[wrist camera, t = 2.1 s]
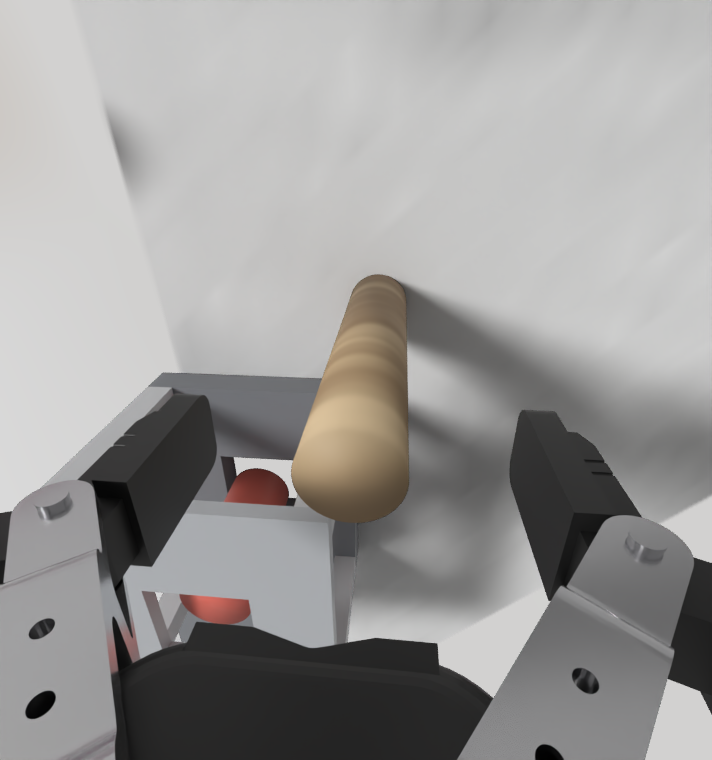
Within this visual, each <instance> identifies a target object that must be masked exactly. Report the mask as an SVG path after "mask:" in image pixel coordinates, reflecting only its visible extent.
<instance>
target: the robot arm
mask: <svg viewBox="0 0 712 760" xmlns="http://www.w3.org/2000/svg"><path fill="white" fill-rule="evenodd" d="M216 455H217V444H216V438H215V432H214V426H213V421H212V415H211V409H210V404H209V400H208V398H207V397H206V396H205V395H193V394H175V395H173V396H172V397H171V398H170V399H169V400H168V401H167V402H166V403H165V404H164V405H163V406H162V407H161V408H160V409H159V411H154V412H152V413H150V414H149V415H147V416H145V417H143V418H141V419H140V420H138V421H136V422H135V423H134V424H133V425H132V426H131V427H130V428H129V429H128V430H127V431H126V432H125V433H124V436H121V437H120V438H119V439H118V440H117V441H116V442H115V443H114V444H113V447H110V448H109V449H108V450H107V451H106V452H105V453H104V454H103V455H102V456H101V457H100V458H99V459H98V460H97V461H96V462H95V463H94V464H93V465H92V466H91V467H90V468H89V469H88V470H87V471H86V472H85V473H84V474H83V475H81V476H80V477H79V478H78V479H77V480H68V481H61V482H57V483H53V484H50V485H48V486H45V487H43V488H40V489H38V490H37V491H35V492H33V493H31V494H30V495H28V496H27V497H25V498H24V499H23V500H22V501H20V502H19V503H18V504H17V506H16V507H15V508H14V510H13V511H11V512H5V513H0V760H645V757H646V753H647V750H648V746H649V743H650V739H651V736H652V732H653V728H654V725H655V722H656V718H657V714H658V711H659V707H660V704H661V700H662V697H663V693H664V689H665V686H666V682H667V679H670V680H672V681H675V682H678V683H680V684H683V685H685V686H688V687H690V688H693V689H696V690H698V691H700V692H701V694H702V696H703V698H704V700H705V702H706V704H707V706H708V708H709V710H710V712H711V714H712V563H709V562H706V561H703V560H700V559H697V558H694V557H693V555H692V553H691V551H690V549H689V548H688V546H687V545H686V544H685V543H684V542H683V541H682V540H681V539H680V538H679V537H678V536H677V535H676V534H674V533H673V532H671V531H670V530H668V529H667V528H665V527H663V526H662V525H659V524H657V523H655V522H653V521H650V520H648V519H644V518H642V517H641V515H640V514H639V512H638V510H637V509H636V507H635V506H634V504H633V503H632V501H631V500H630V498H629V497H628V495H627V494H626V492H625V491H624V489H623V488H622V486H621V485H620V483H619V482H618V480H617V479H616V477H615V476H613V475H612V474H613V473H612V471H611V470H610V468H609V467H608V465H607V464H606V463H604V459H603V457H602V456H601V454H600V453H599V451H598V450H597V448H596V447H595V446H594V445H593V444H592V443H590V442H589V441H588V440H586V439H585V438H584V437H582V436H581V435H580V434H578V433H574V432H567V430H566V429H565V427H564V425H563V424H562V422H561V420H560V419H559V417H558V415H557V414H556V413H555V412H553V411H533V410H522V411H521V412H520V415H519V418H518V423H517V428H516V433H515V439H514V444H513V449H512V454H511V460H510V483H511V487H512V490H513V493H514V496H515V500H516V503H517V506H518V509H519V512H520V515H521V518H522V521H523V524H524V527H525V530H526V533H527V536H528V539H529V542H530V546H531V549H532V552H533V555H534V558H535V561H536V564H537V567H538V570H539V573H540V576H541V579H542V582H543V585H544V588H545V592H546V595H547V597H548V600H549V601H551V602H550V603H549V605H548V607H547V609H546V610H545V612H544V613H543V615H542V617H541V619H540V621H539V622H538V624H537V625H536V627H535V629H534V631H533V632H532V634H531V635H530V637H529V639H528V641H527V642H526V644H525V646H524V647H523V649H522V651H521V652H520V654H519V656H518V658H517V659H516V661H515V663H514V664H513V666H512V668H511V669H510V671H509V673H508V675H507V676H506V678H505V679H504V681H503V683H502V685H501V686H500V688H499V690H498V691H497V693H496V695H495V696H494V698H492V697H491V696H490V695H489V694H488V693H486V692H485V691H484V690H483V689H482V688H480V687H479V686H478V685H476V684H474V683H473V682H471V681H470V680H468V679H467V678H465V677H464V676H462V675H460V674H458V673H456V672H454V671H452V670H450V669H448V668H445V667H443V666H440V665H439V660H438V645H437V644H436V643H425V642H414V641H403V640H392V639H382V638H373V639H367V640H361V641H355V642H349V643H343V644H337V645H331V646H325V647H319V648H308V647H305V646H302V645H300V644H297V643H294V642H292V641H289V640H286V639H284V638H281V637H279V636H276V635H273V634H271V633H268V632H266V631H263V630H260V629H258V628H255V627H250V626H239V625H228V624H217V623H206V622H196V623H195V625H194V628H193V630H192V632H191V634H190V637H189V639H188V641H187V642H186V643H181V644H177V645H174V646H170V647H167V648H164V649H161V650H159V651H156V652H154V653H151V654H149V655H147V656H145V657H143V658H141V659H140V654H139V650H138V644H137V639H136V633H135V628H134V622H133V617H132V611H131V605H130V600H129V594H128V589H127V584H126V581H125V578H124V574H125V573H126V571H127V570H128V568H129V567H130V565H133V566H145V567H152V566H153V565H154V563H155V561H156V560H157V558H158V556H159V555H160V553H161V552H162V550H163V548H164V547H165V545H166V543H167V542H168V540H169V538H170V537H171V535H172V534H173V532H174V530H175V529H176V527H177V525H178V524H179V522H180V521H181V519H182V517H183V516H184V514H185V512H186V511H187V509H188V507H189V506H190V504H191V503H192V501H193V499H194V498H195V496H196V494H197V493H198V491H199V490H200V488H201V486H202V485H203V483H204V481H205V480H206V478H207V476H208V475H209V473H210V472H211V470H212V468H213V466H214V464H215V460H216Z"/></svg>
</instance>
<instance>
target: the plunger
mask: <svg viewBox="0 0 712 760" xmlns="http://www.w3.org/2000/svg"><path fill="white" fill-rule="evenodd" d="M288 497H289V491H288V488H287V485H286V484H285V482H284V481H283V480H282V479H281V478H280V477H279V476H278V475H276V474H275V473H273V472H271V471H268V470H264V469H258V468H257V469H256V468H254V469H248V470H245V471H243V472H241V473H240V474H239V475H238V476H237V477H236V478H235V480H234V482H233V484H232V486H231V488H230V490H229V492H228V494H227V496H226V498H225V500H224V502H231V503H247V504H262V505H278V506H286V504H287V501H288ZM179 596H180V600H181V602H182V604H183V605H184V606H185V608H186V609H187V610H188V611H189V612H191V613H192V614H193V615H195V616H197V617H198V618H200V619H202V620H205V621H208V622H211V623H217V624H235V623H239V622H241V621H243V620H245V619H246V618H247V617H248V616H249V615H250V613H251V610H250V605H249V600H245V599H233V598H221V597H209V596H197V595H185V594H179Z"/></svg>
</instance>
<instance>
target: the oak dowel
mask: <svg viewBox="0 0 712 760" xmlns="http://www.w3.org/2000/svg"><path fill="white" fill-rule="evenodd" d="M291 477H292V482H293V485H294V488H295V490H296V492H297V493H298V495H299V497H300V498H301V499H302V500H303V501H304V503H305V504H306V505H308V506H309V507H310V508H311V509H313V510H314V511H316V512H317V513H319V514H321V515H323V516H325V517H327V518H330V519H333V520H336V521H341V522H348V523H363V522H369V521H374V520H377V519H380V518H382V517H384V516H386V515H388V514H390V513H391V512H392V511H394V510H395V509H396V508H397V507H398V506H399V505H400V504H401V503H402V501H403V500H404V498H405V496H406V494H407V491H408V487H409V447H408V382H407V317H406V295H405V292H404V290H403V288H402V287H401V285H400V284H399V283H398V282H397V281H396V280H394V279H393V278H391V277H389V276H385V275H371V276H368V277H366V278H364V279H362V280H361V281H360V282H359V283H358V284H357V285H356V286H355V288H354V290H353V292H352V295H351V298H350V300H349V303H348V306H347V309H346V312H345V315H344V318H343V320H342V323H341V326H340V329H339V332H338V335H337V338H336V340H335V343H334V346H333V349H332V352H331V355H330V357H329V360H328V363H327V366H326V369H325V372H324V375H323V377H322V380H321V383H320V386H319V389H318V392H317V395H316V397H315V400H314V403H313V406H312V409H311V412H310V415H309V417H308V420H307V423H306V426H305V429H304V432H303V434H302V437H301V440H300V443H299V446H298V449H297V452H296V454H295V457H294V460H293V463H292V469H291Z"/></svg>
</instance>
